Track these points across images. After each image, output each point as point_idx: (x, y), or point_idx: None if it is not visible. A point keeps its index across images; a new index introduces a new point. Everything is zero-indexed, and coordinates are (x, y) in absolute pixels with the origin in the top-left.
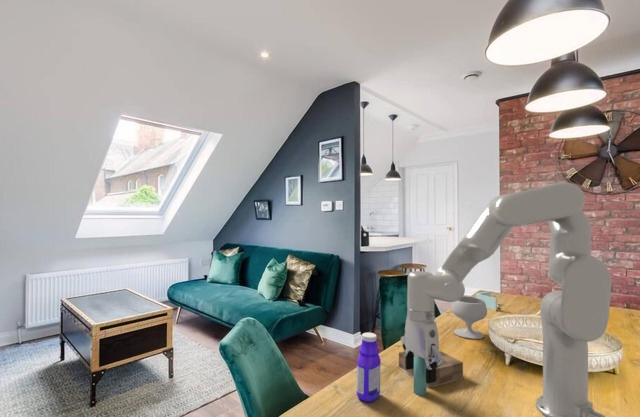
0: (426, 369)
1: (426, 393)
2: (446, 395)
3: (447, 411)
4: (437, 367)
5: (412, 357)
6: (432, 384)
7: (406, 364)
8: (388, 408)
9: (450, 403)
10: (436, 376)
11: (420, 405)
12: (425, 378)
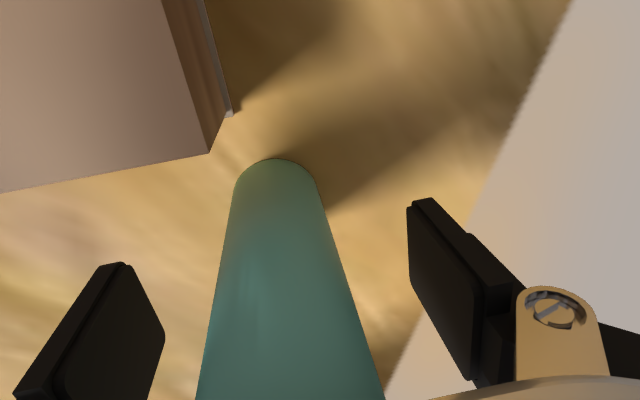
0: (484, 384)
1: (302, 168)
2: (359, 30)
3: (502, 146)
4: (574, 303)
5: (94, 397)
6: (211, 66)
7: (148, 384)
8: None
9: (450, 72)
10: (186, 15)
11: (399, 255)
12: (333, 241)
